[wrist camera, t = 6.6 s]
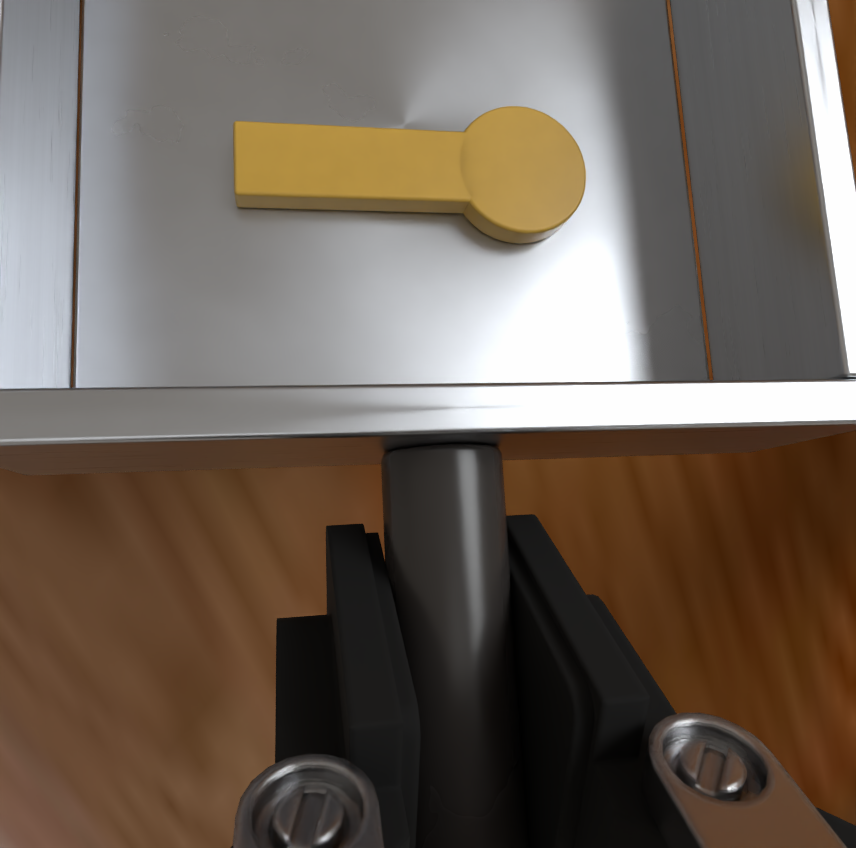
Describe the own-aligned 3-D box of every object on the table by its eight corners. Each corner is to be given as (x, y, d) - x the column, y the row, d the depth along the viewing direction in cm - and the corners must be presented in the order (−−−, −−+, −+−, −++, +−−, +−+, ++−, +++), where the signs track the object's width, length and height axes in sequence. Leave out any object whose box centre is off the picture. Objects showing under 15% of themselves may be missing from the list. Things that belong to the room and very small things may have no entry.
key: (570, 124, 13) (581, 108, 12) (581, 246, 12) (593, 234, 12) (234, 106, 12) (232, 87, 11) (236, 239, 11) (234, 226, 11)
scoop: (669, -79, 15) (788, -275, 11) (774, 825, 12) (973, 938, 9) (56, -149, 13) (-33, -418, 9) (23, 928, 10) (-121, 1134, 6)
